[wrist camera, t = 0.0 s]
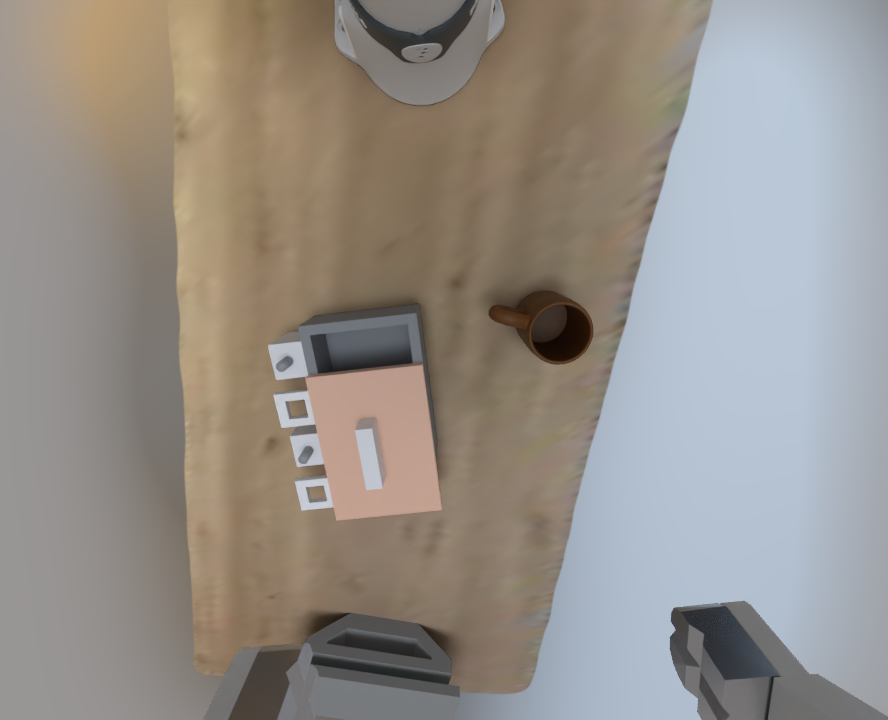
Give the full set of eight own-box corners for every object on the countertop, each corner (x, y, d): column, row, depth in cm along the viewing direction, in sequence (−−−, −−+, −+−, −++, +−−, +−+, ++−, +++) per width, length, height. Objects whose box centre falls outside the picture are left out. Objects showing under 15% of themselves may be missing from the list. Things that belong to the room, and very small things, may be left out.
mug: (475, 329, 56) (481, 347, 47) (491, 273, 54) (501, 281, 45) (559, 351, 57) (581, 373, 48) (578, 298, 55) (605, 310, 46)
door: (272, 378, 51) (258, 391, 47) (422, 362, 50) (421, 373, 46) (306, 518, 56) (296, 539, 52) (441, 504, 56) (441, 525, 52)
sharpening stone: (304, 641, 72) (281, 710, 61) (310, 606, 70) (287, 671, 59) (447, 663, 73) (448, 734, 63) (456, 629, 71) (459, 697, 61)
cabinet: (285, 319, 56) (255, 334, 47) (419, 303, 55) (415, 316, 46) (315, 452, 61) (293, 489, 52) (437, 439, 61) (436, 474, 52)
